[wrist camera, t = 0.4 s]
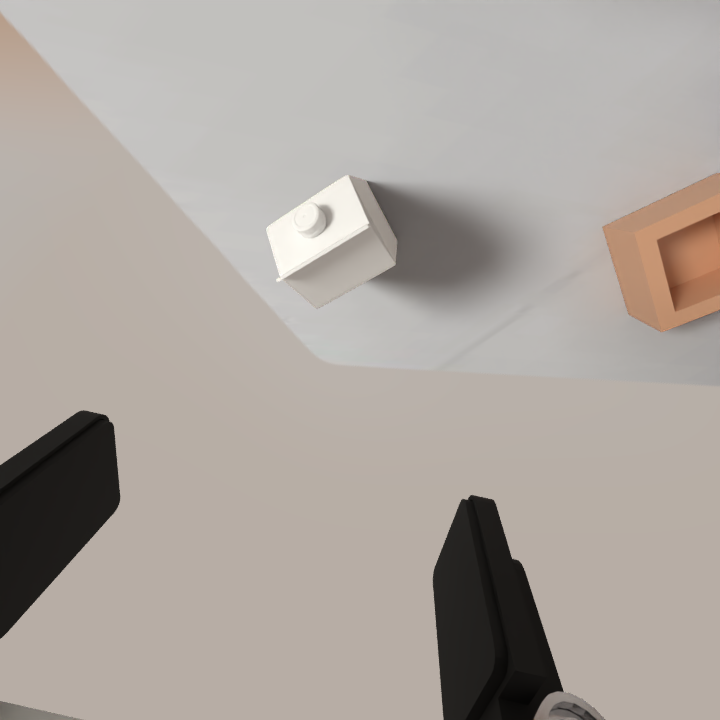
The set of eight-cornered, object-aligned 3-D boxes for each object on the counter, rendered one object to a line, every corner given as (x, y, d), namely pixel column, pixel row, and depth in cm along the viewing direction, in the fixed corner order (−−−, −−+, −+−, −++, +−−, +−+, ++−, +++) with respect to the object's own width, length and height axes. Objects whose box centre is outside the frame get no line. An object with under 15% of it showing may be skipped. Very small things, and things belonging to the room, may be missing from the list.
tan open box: (602, 226, 40) (634, 232, 34) (716, 173, 37) (770, 170, 32) (628, 314, 43) (661, 332, 38) (735, 271, 40) (787, 283, 35)
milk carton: (398, 241, 43) (395, 275, 25) (342, 273, 44) (305, 325, 27) (365, 179, 40) (338, 170, 23) (309, 215, 42) (245, 232, 25)
